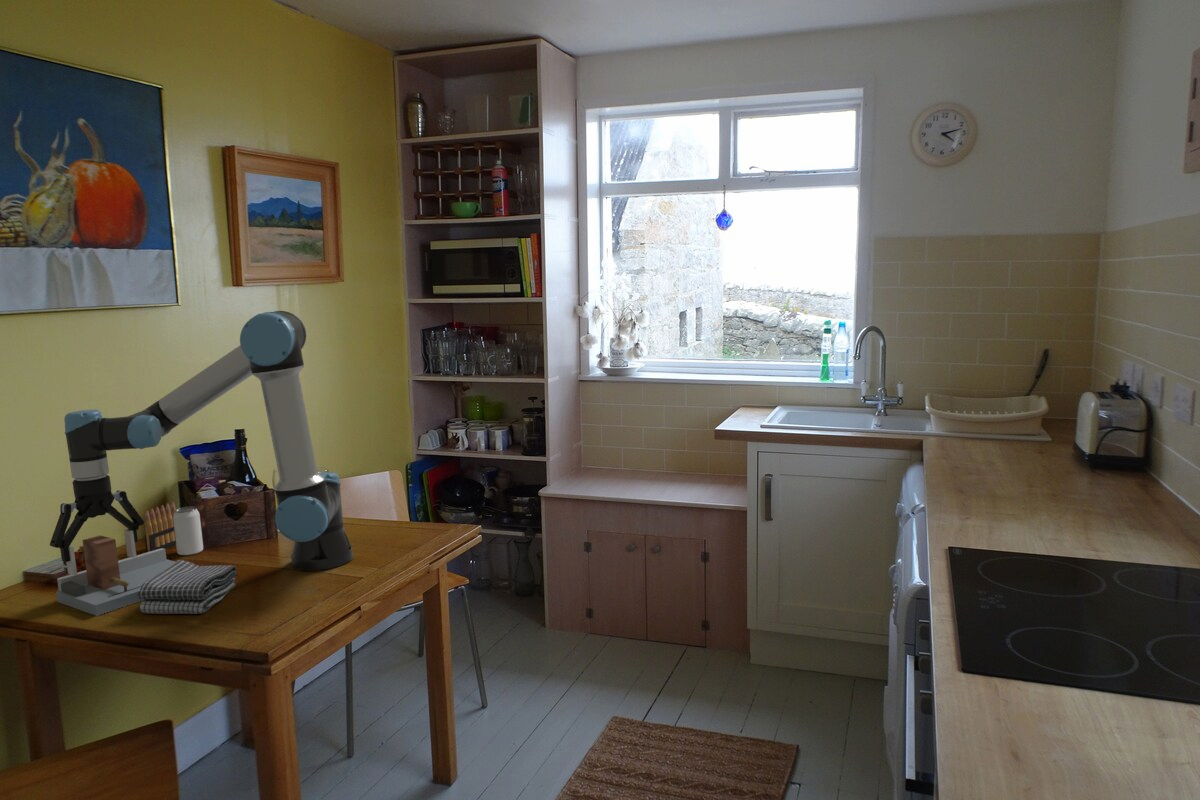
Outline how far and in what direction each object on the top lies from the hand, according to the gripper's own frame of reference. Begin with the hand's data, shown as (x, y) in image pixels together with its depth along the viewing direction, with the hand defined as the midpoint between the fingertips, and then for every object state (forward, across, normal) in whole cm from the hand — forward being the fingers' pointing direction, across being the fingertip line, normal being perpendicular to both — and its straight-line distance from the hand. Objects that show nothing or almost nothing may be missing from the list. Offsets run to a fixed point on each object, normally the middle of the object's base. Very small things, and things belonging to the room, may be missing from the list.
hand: (103, 565), depth 204 cm
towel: (+8, -8, +23) cm, 25 cm away
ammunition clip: (+8, -28, -24) cm, 38 cm away
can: (+8, -29, -13) cm, 33 cm away
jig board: (+7, -5, +3) cm, 9 cm away
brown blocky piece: (+5, 0, +3) cm, 6 cm away
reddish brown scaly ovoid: (+7, -5, -19) cm, 21 cm away
